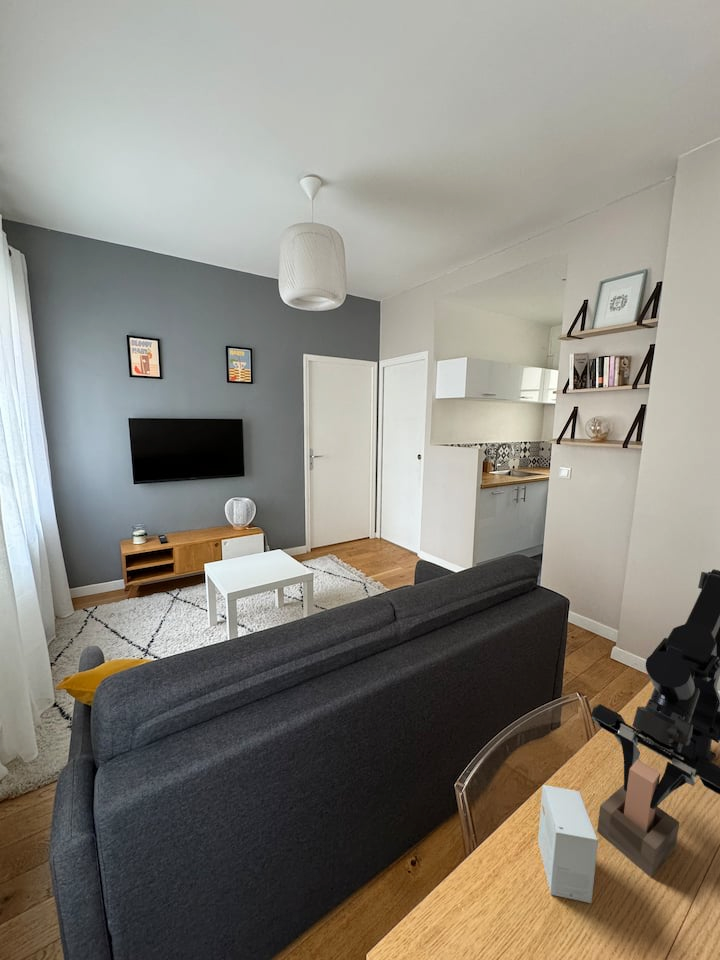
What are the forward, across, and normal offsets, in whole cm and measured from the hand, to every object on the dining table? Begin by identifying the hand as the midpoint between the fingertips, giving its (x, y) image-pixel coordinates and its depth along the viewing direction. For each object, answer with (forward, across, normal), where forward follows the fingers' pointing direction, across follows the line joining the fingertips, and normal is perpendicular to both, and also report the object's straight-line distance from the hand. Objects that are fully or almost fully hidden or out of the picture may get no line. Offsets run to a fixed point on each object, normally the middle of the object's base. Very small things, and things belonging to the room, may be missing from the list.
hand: (638, 799), depth 64 cm
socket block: (+5, 0, +7) cm, 9 cm away
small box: (+15, -5, -3) cm, 16 cm away
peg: (+4, 0, +6) cm, 7 cm away
